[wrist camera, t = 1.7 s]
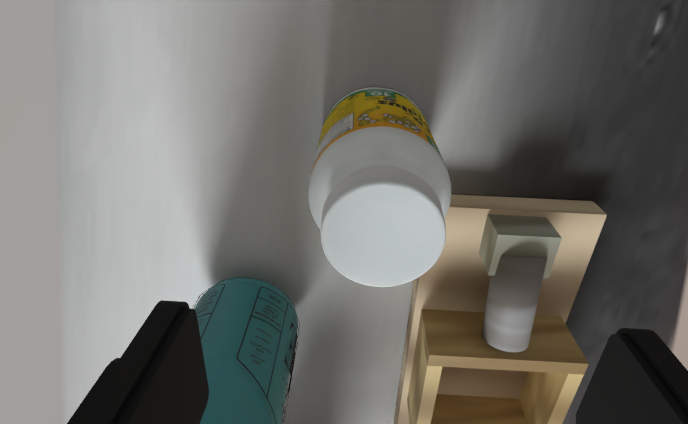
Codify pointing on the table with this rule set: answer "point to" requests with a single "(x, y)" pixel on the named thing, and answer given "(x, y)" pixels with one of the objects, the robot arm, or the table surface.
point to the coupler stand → (498, 314)
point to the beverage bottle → (246, 351)
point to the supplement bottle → (379, 189)
